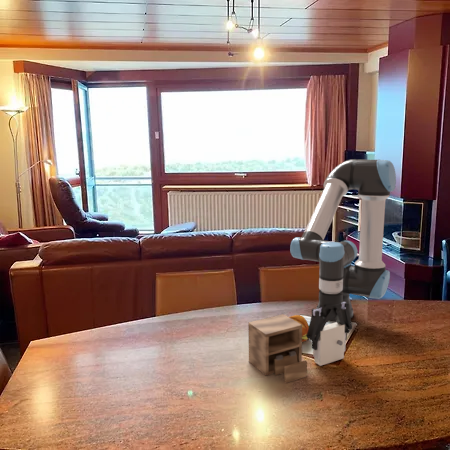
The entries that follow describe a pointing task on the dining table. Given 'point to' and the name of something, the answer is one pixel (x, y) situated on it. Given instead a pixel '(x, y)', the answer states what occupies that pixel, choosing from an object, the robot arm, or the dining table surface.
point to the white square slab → (331, 343)
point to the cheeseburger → (304, 325)
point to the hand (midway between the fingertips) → (329, 353)
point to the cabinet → (277, 347)
